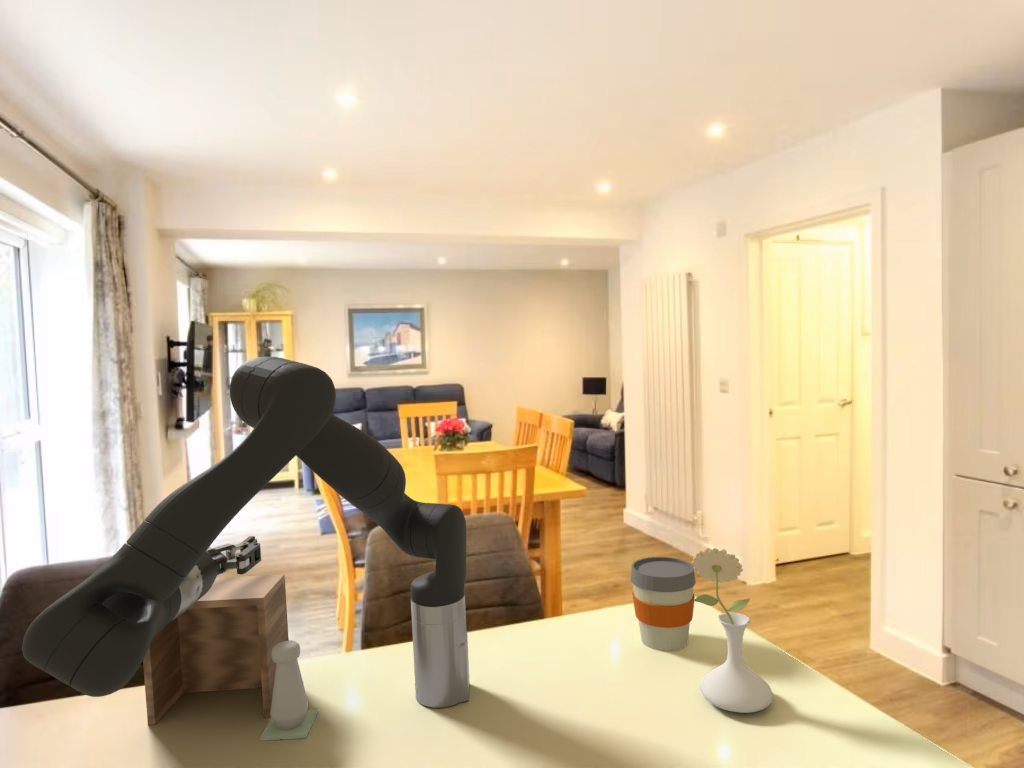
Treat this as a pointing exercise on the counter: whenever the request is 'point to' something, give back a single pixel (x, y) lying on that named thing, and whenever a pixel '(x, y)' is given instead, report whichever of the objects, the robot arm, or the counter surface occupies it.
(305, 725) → the mat
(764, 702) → the flower in vase
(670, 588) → the reusable coffee cup
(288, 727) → the salt shaker
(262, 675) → the cubby
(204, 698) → the counter surface
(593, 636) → the counter surface
